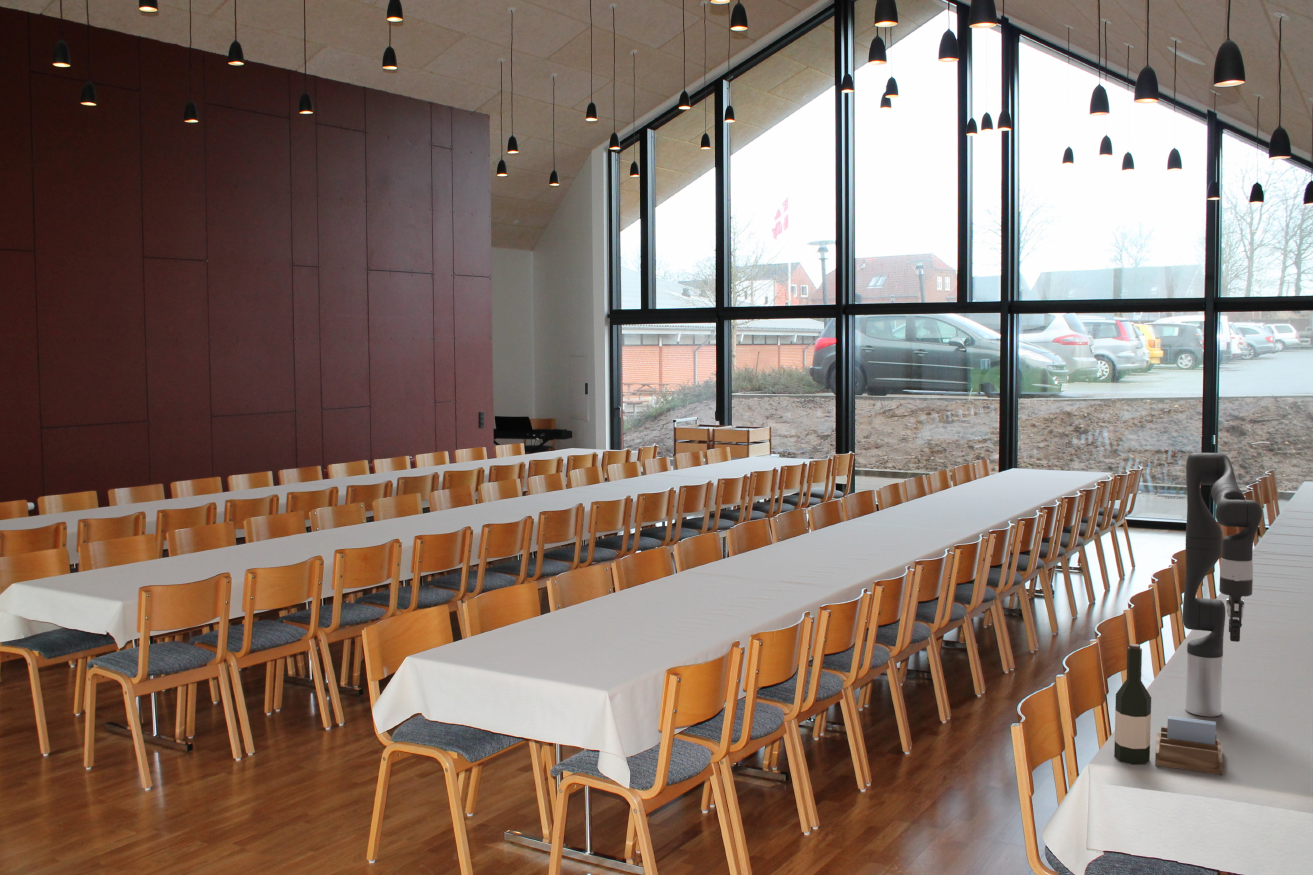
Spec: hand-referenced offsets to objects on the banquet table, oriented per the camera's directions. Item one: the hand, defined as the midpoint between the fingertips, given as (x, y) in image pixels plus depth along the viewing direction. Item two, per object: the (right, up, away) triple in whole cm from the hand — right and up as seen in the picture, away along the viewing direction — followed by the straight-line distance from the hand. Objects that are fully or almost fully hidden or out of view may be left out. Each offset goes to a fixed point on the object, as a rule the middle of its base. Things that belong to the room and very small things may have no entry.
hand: (1234, 636), depth 274 cm
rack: (-14, -31, -4) cm, 34 cm away
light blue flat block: (-13, -30, -4) cm, 33 cm away
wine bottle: (-28, -31, -3) cm, 42 cm away
